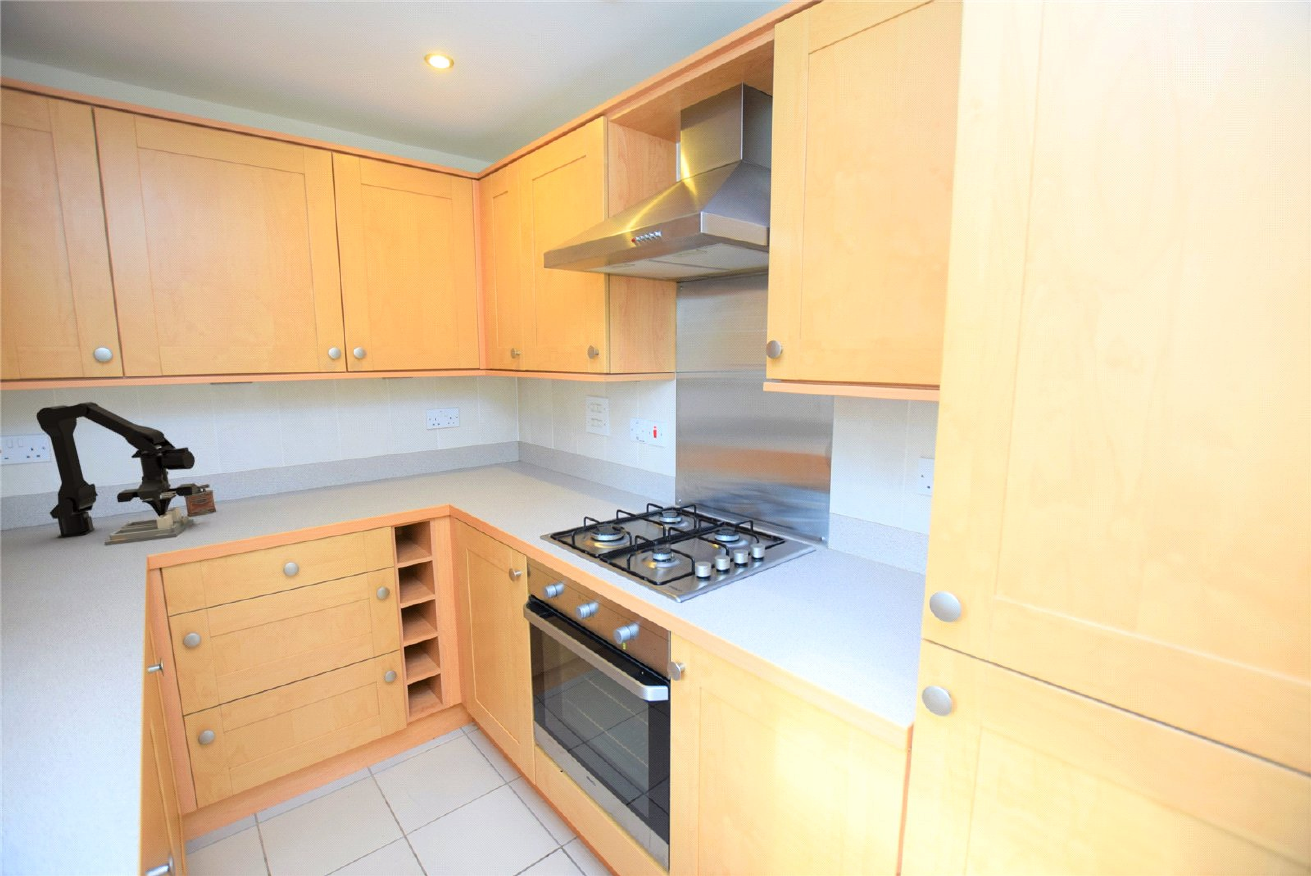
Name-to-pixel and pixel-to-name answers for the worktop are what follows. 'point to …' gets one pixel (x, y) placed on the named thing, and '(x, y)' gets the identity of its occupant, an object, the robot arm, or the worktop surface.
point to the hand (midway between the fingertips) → (163, 518)
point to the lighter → (200, 502)
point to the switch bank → (147, 531)
